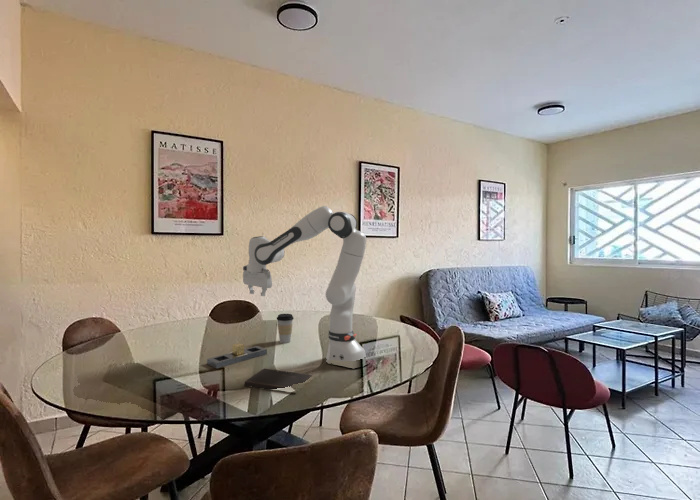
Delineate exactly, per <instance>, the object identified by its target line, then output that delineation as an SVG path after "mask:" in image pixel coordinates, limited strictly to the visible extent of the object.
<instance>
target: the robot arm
mask: <svg viewBox="0 0 700 500" xmlns="http://www.w3.org/2000/svg"><path fill="white" fill-rule="evenodd" d="M357 228H358V221H357V218H356V217H355V215H353V214H352V213H349V212H346V211H336V212H333V210H332V209H331V208H330V207H328V206H327V205H326V206H325V205H323V206H320V207H318V208H316V209H314V210H312V211H311V212H309V213H308V214H305V216H304V217H302V218H301V219H300V220H298V221H297V222H296V223H295V224H294V225H293V226H291V227H290V228H289V229H288V230H286V231H285V232H283V233H281V234H280V235H279V236H277V237H275V238H274V239H273V240H269V238H267V237H266V236H263V235H260V236H259V235H258V236H253V237H251V238H250V239H249V242H248V257H249V258H248V264H246V265H244V266H242V271H243V273H242V282H243V284H244V285H247V287H248V289H249V294H250V295H254V294H255V290H254V288H253V287H257V288H261V292H260V296H261V297H265V296H266V293H267V291H268V290H267V289H270V288H272V286H273V278H272V274H271V271H270V270H269V269H267V265H269V264H272V263H273V264H275V263H278V262H280V261H281V260H283V259H284V258H285V249H286V248H287V247H290V245H293V244H295V243H299V242H303V241H308V240H311V239H313V238H315V237H317V236H319V235H320V234H321V233H322V232H324V231H325V230H327V229H329V230H330V231H331V232H332V233H333V234H334V235H336V236H337V237H338V238H341V239H342V246H341V249H340V253H339V257H338V260H337V264H336V266H335V269H334V272H333V274H332V277H331V279H330V281H329V284H328V287H327V289H326V291H325V298H326V301H327V302H328V303H330V304H331V309H330V313H329V330H328V339H329V340H328V346H327V351H326V352H327V353H326V357H325V363H326V362H329V361H330V360H337V361H356V360H360V359H363V358H364V357H366V358H367V356H366V350H365V348H364V347H362V345H361V344H360V343H359V342H358V341H357V340H356V336H357V333H355V332H354V330H353V315H354V314H353V313H354V307H355V300H356V290H357V286H356V284H355V282H356V279H357V278H358V277H357V276H358V275H359V273H360V269H361V266H362V262H363V259H364V256H365V251H366V247H367V246H366V245H367V237H366V236H367V235H366V234H365V233H364V232H362V231H360V230H357ZM326 359H327V360H326Z"/></svg>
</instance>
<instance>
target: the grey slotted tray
mask: <svg viewBox="0 0 700 500" xmlns="http://www.w3.org/2000/svg"><path fill="white" fill-rule="evenodd" d="M265 355H268V349H267V348H264V347H262V346H259V345H254V346H251V347H248V348H244V354H243V355H239V356H234V355H232V351H231V352H229V353H225V354H221V355H220V354H219V355H218V356H214V357H213V356H212V357H210V358H207V359H206V361H207V362H206V364H207V365H208V366H210V367H212V368H215V369H220V368H222V367H227V366H230V365H233V364H237V363H240V361H241V362H244V361H248V360H251V359H254V358H258V357H261V356H265ZM243 360H244V361H243Z"/></svg>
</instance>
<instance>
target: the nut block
mask: <svg viewBox="0 0 700 500" xmlns="http://www.w3.org/2000/svg"><path fill="white" fill-rule="evenodd" d="M244 349H245V344H243V343H240V342H239V343H236V344H232V351H231V352H232V355H234V356H239V355H243V354H244Z"/></svg>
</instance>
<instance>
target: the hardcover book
mask: <svg viewBox="0 0 700 500" xmlns="http://www.w3.org/2000/svg"><path fill="white" fill-rule="evenodd" d="M312 376H313V374H308V373H299V372H293V371H285V370H278V369H277V370H276V369H273V368H272V369H271V368H270V369H269V368H263V369H261V370H260V371H258V372H257V373H255V374H254V375H252V376H251V377H248V379H247V380H245V381H244V385H245V386H244V387H247V386H252V387H251V388H253V387H255V389H260V388H264V389H263V390H266V389H277V388H285V387H288V386H289V387H290V386H292V385H293V384H298V383H303V382H305V381H306V380H308V379H309V378H310V377H311V378H312Z"/></svg>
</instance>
